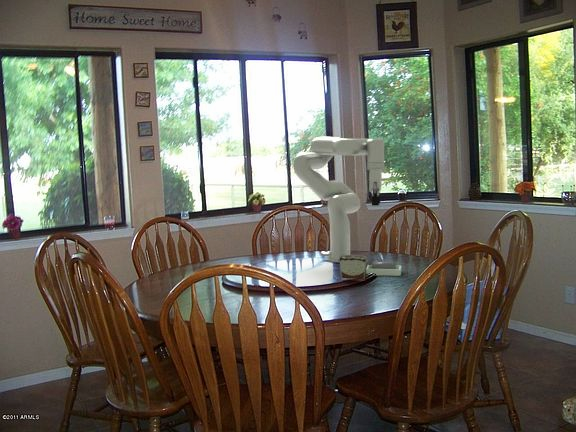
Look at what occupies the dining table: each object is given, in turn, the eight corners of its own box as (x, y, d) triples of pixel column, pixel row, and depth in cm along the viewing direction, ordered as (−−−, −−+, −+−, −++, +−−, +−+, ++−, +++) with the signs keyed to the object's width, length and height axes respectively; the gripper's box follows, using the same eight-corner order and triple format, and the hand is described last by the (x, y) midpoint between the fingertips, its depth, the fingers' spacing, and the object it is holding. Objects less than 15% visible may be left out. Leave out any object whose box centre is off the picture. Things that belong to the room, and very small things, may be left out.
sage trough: (366, 275, 276) (366, 269, 276) (367, 270, 285) (367, 265, 284) (400, 275, 273) (400, 269, 273) (401, 271, 282) (401, 265, 282)
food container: (370, 278, 269) (370, 255, 268) (367, 281, 263) (367, 257, 262) (342, 277, 273) (341, 253, 272) (338, 280, 267) (337, 256, 266)
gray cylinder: (371, 273, 278) (371, 263, 277) (372, 270, 282) (372, 261, 281) (397, 273, 276) (397, 263, 275) (397, 271, 280) (397, 261, 279)
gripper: (368, 165, 299) (369, 202, 301) (366, 167, 282) (366, 206, 284) (385, 165, 298) (385, 202, 300) (383, 167, 281) (383, 206, 283)
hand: (376, 204), depth 292 cm, fingers open, 9 cm apart
